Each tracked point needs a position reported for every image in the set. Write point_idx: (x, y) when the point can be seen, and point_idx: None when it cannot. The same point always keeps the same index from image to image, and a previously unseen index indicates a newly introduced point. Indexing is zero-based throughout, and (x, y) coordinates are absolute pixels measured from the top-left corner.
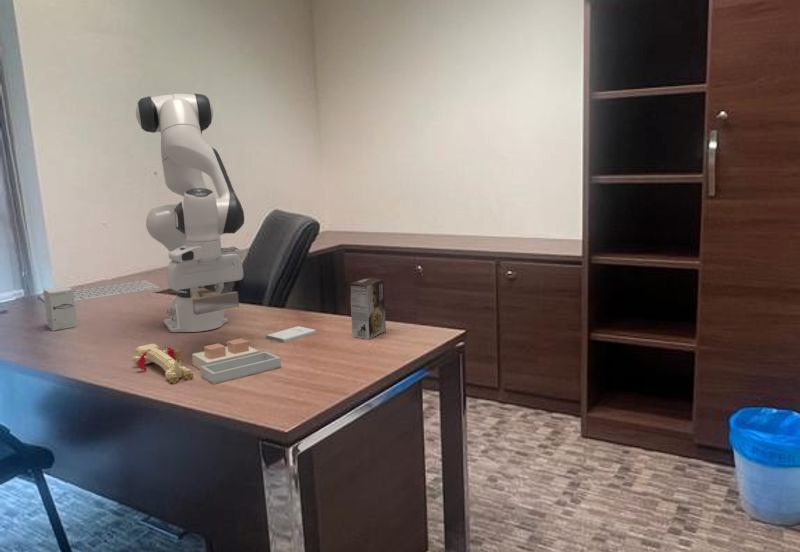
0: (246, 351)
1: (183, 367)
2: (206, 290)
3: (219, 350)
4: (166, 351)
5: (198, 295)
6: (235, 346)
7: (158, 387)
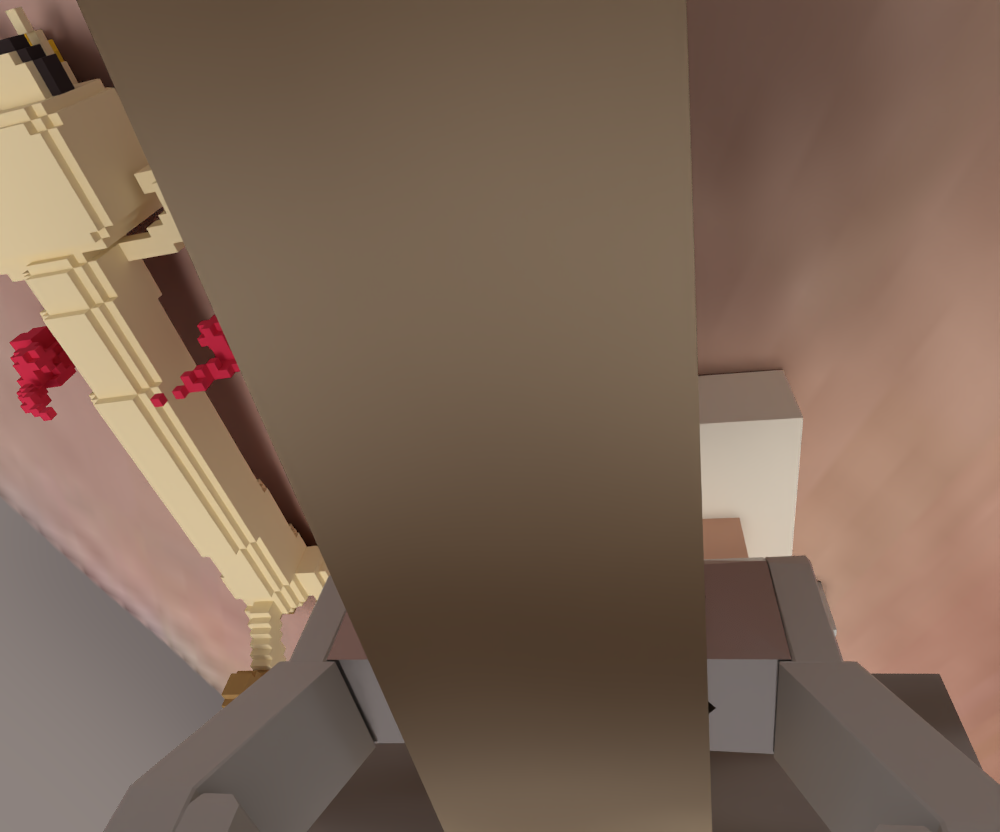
0: None
1: (312, 585)
2: (606, 553)
3: None
4: None
5: (332, 776)
6: None
7: (212, 596)
